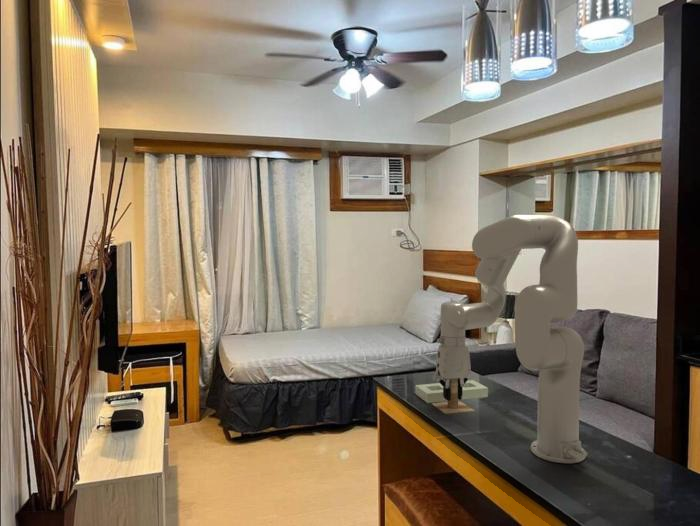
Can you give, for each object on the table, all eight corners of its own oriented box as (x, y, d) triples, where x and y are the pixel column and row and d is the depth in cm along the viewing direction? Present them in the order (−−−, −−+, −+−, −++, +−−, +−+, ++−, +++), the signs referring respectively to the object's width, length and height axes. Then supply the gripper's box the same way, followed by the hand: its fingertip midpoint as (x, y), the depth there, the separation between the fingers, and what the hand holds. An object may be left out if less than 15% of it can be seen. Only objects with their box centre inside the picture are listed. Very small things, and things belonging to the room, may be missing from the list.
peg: (459, 408, 157) (459, 376, 156) (450, 409, 156) (450, 377, 155) (455, 404, 160) (455, 373, 159) (445, 405, 159) (445, 374, 158)
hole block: (488, 398, 168) (488, 387, 167) (427, 404, 162) (427, 393, 162) (473, 389, 177) (473, 380, 177) (415, 395, 172) (415, 385, 171)
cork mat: (475, 412, 154) (475, 410, 154) (445, 415, 152) (445, 413, 152) (459, 402, 164) (459, 400, 164) (431, 405, 161) (431, 403, 161)
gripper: (433, 345, 151) (433, 405, 152) (482, 342, 155) (482, 400, 156) (423, 340, 158) (423, 397, 159) (470, 337, 163) (470, 393, 163)
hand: (452, 398), depth 158 cm, fingers closed on peg, 3 cm apart
